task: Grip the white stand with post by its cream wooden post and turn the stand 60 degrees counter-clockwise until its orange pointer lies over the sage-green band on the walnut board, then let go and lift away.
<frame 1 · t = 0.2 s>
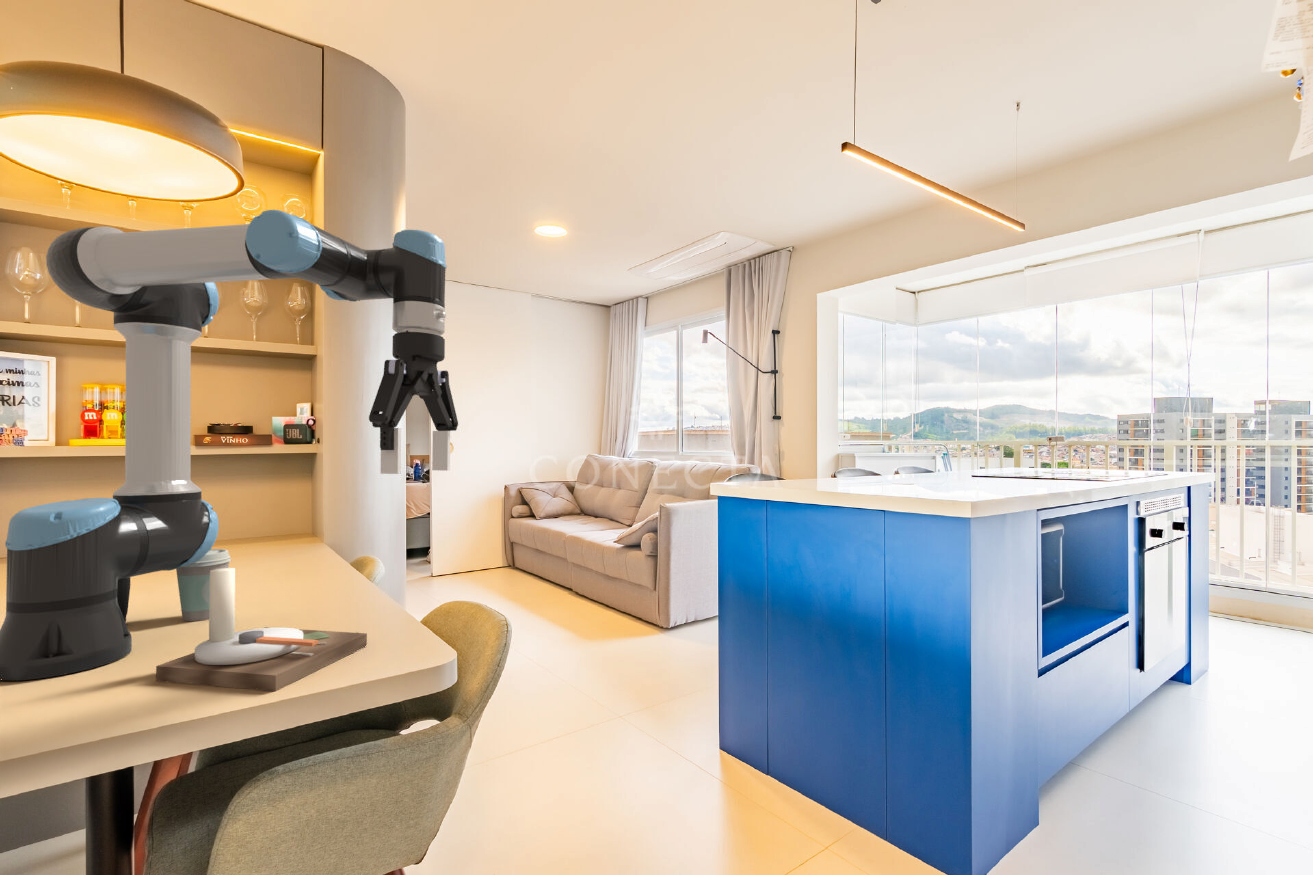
hand: (417, 472, 93), 28 cm above the table, tool pointing down, fingers open, 13 cm apart
coffee cup: (202, 617, 112), on the table
white stand with post: (263, 610, 87), point 8 cm above the table, hinge at 0.0°
portable speaker: (96, 628, 106), on the table
dial board: (250, 664, 87), on the table
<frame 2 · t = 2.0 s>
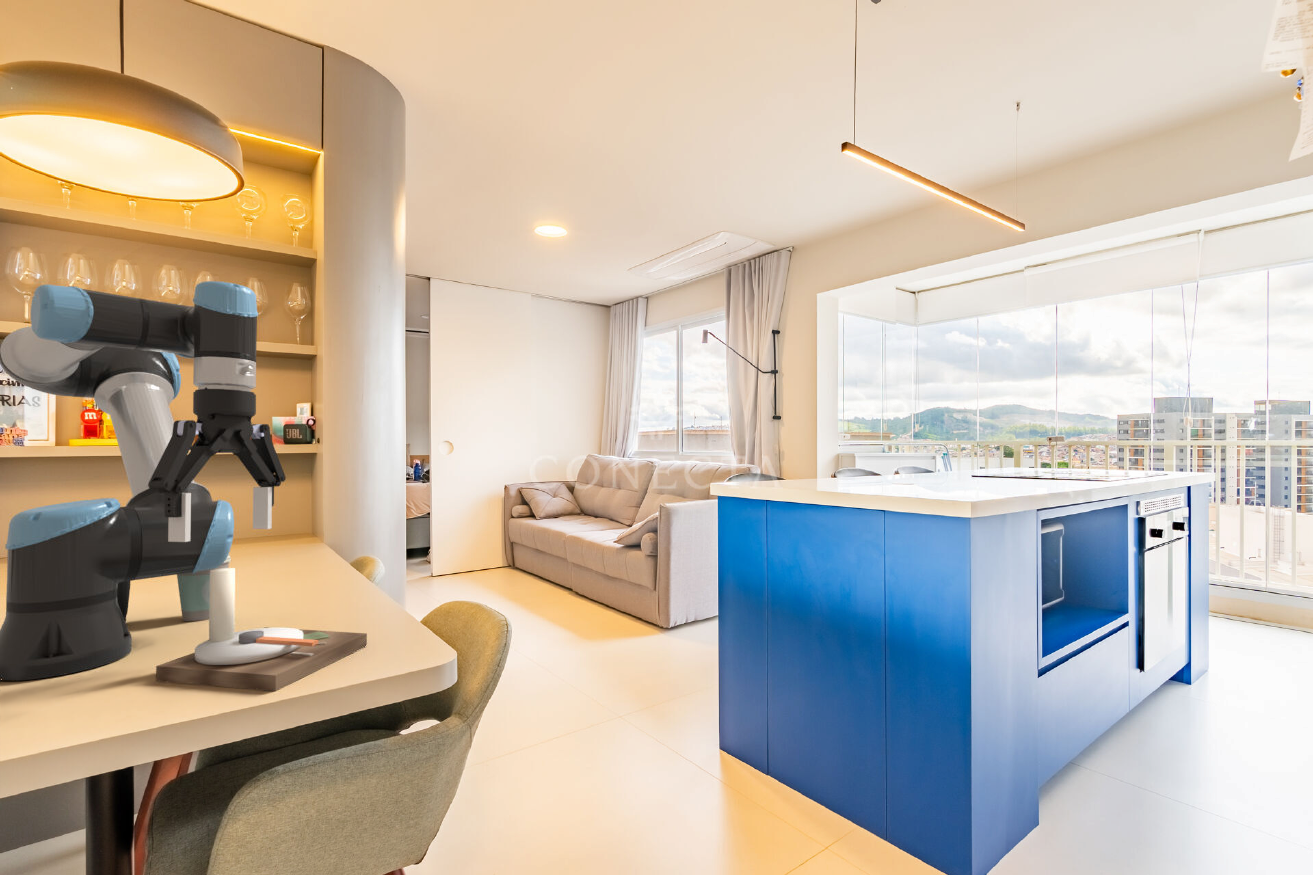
hand: (223, 534, 88), 19 cm above the table, tool pointing down, fingers open, 13 cm apart
nothing on the table moved.
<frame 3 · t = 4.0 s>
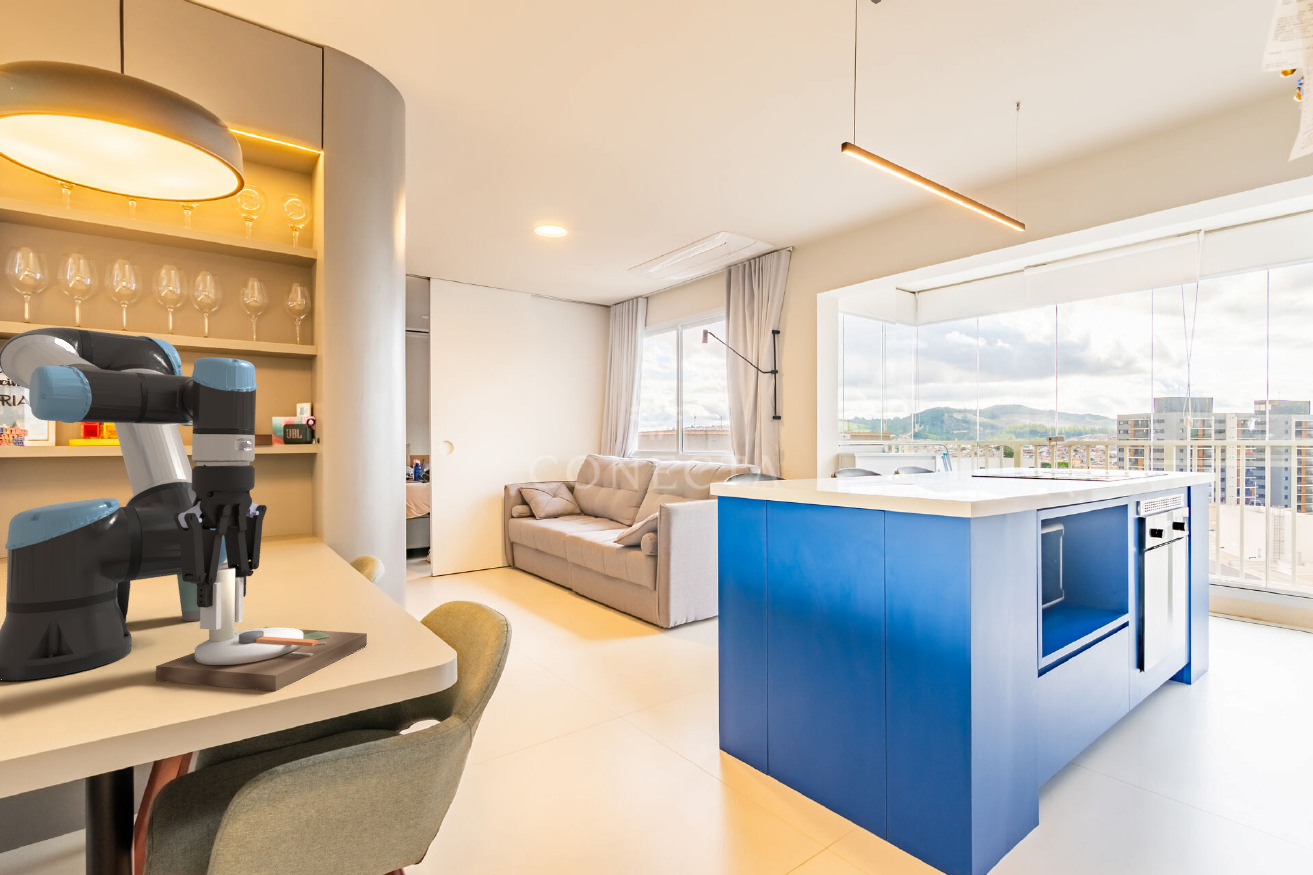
hand: (221, 624, 88), 6 cm above the table, tool pointing down, fingers closed on white stand with post, 3 cm apart
white stand with post: (263, 610, 87), point 8 cm above the table, hinge at 0.0°, touching gripper
everything else where it was.
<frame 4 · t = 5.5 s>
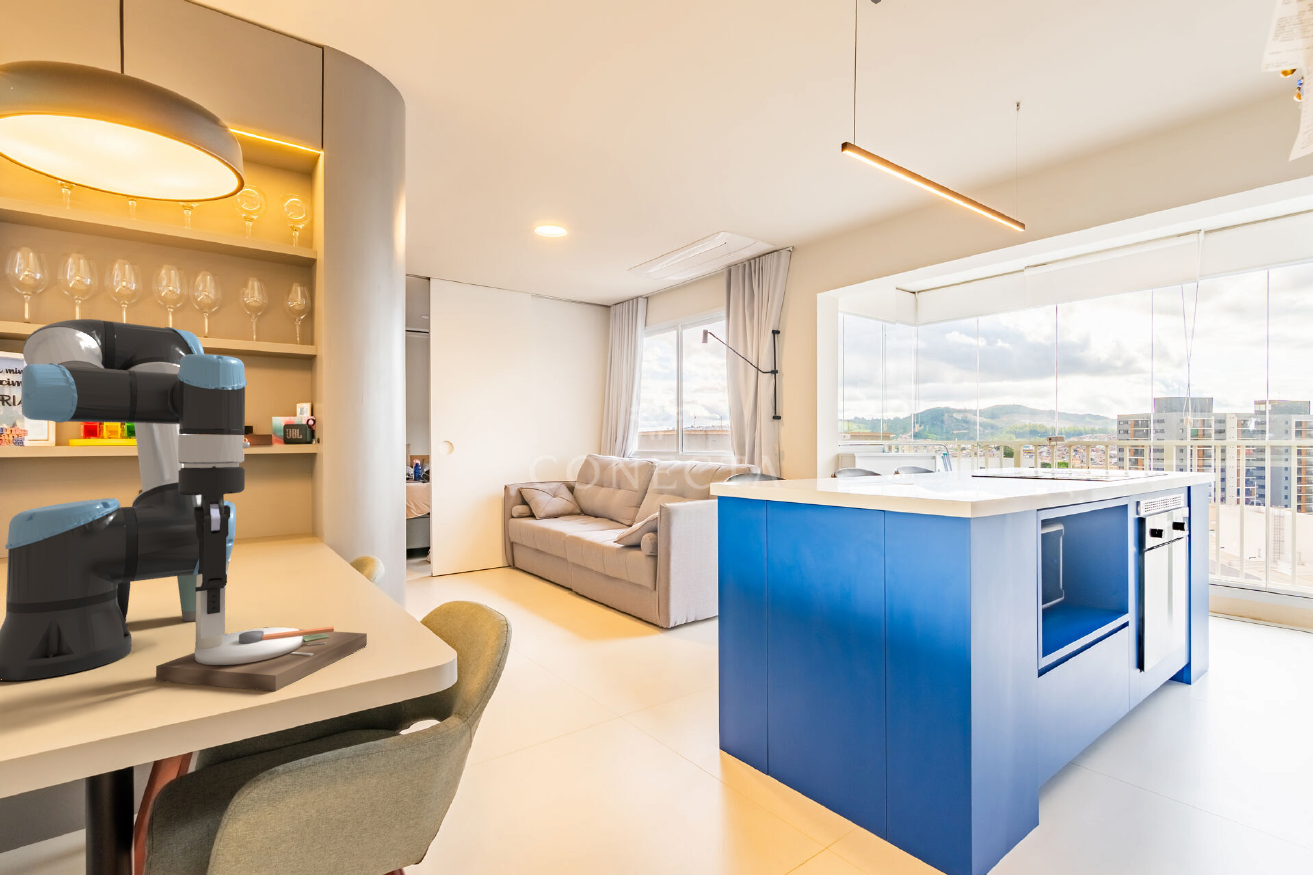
hand: (211, 631, 85), 6 cm above the table, tool pointing down, fingers open, 4 cm apart
white stand with post: (268, 608, 88), point 8 cm above the table, hinge at 37.6°, touching gripper
everything else where it was.
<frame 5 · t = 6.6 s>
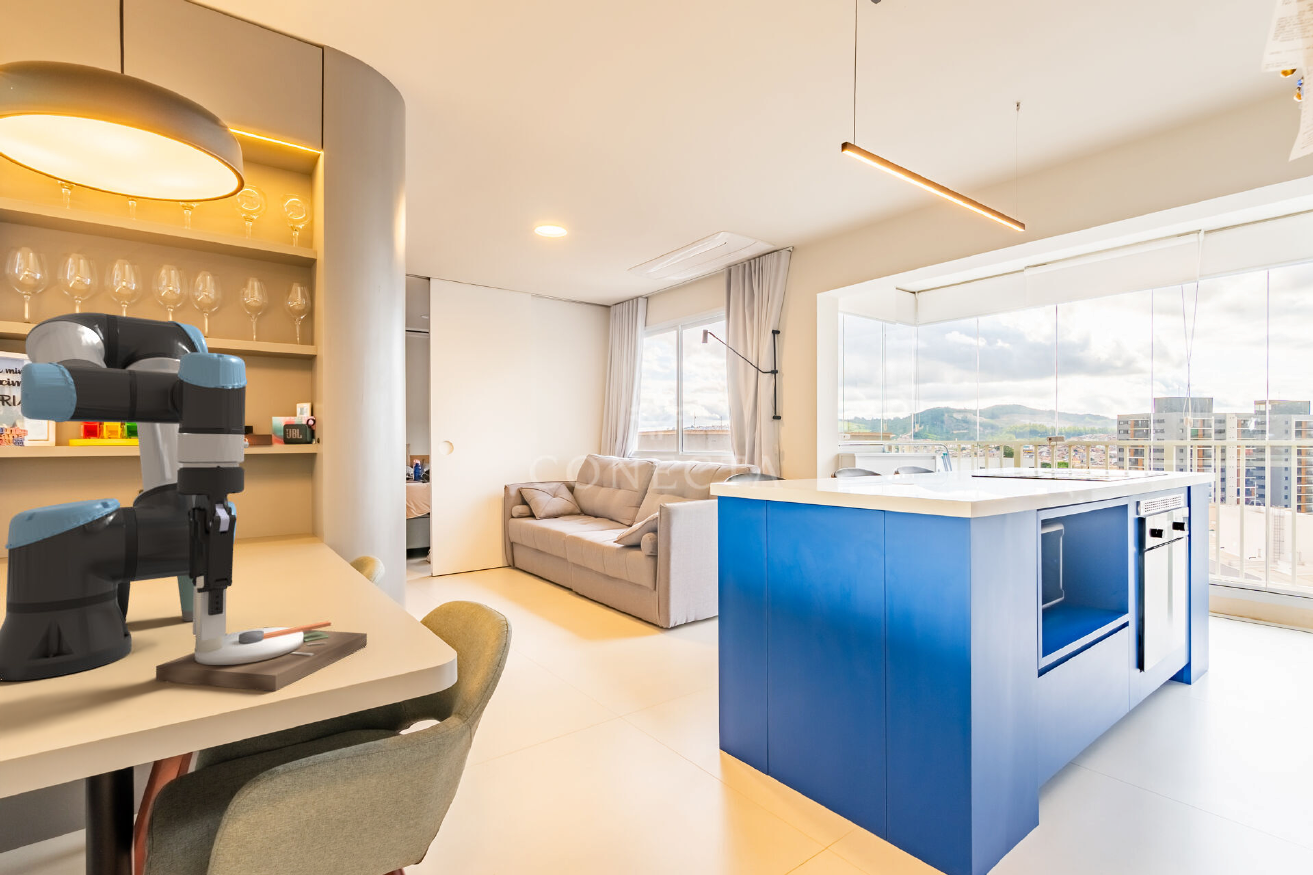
hand: (209, 634, 84), 6 cm above the table, tool pointing down, fingers closed on white stand with post, 3 cm apart
white stand with post: (267, 607, 89), point 8 cm above the table, hinge at 58.0°, touching gripper
everything else where it was.
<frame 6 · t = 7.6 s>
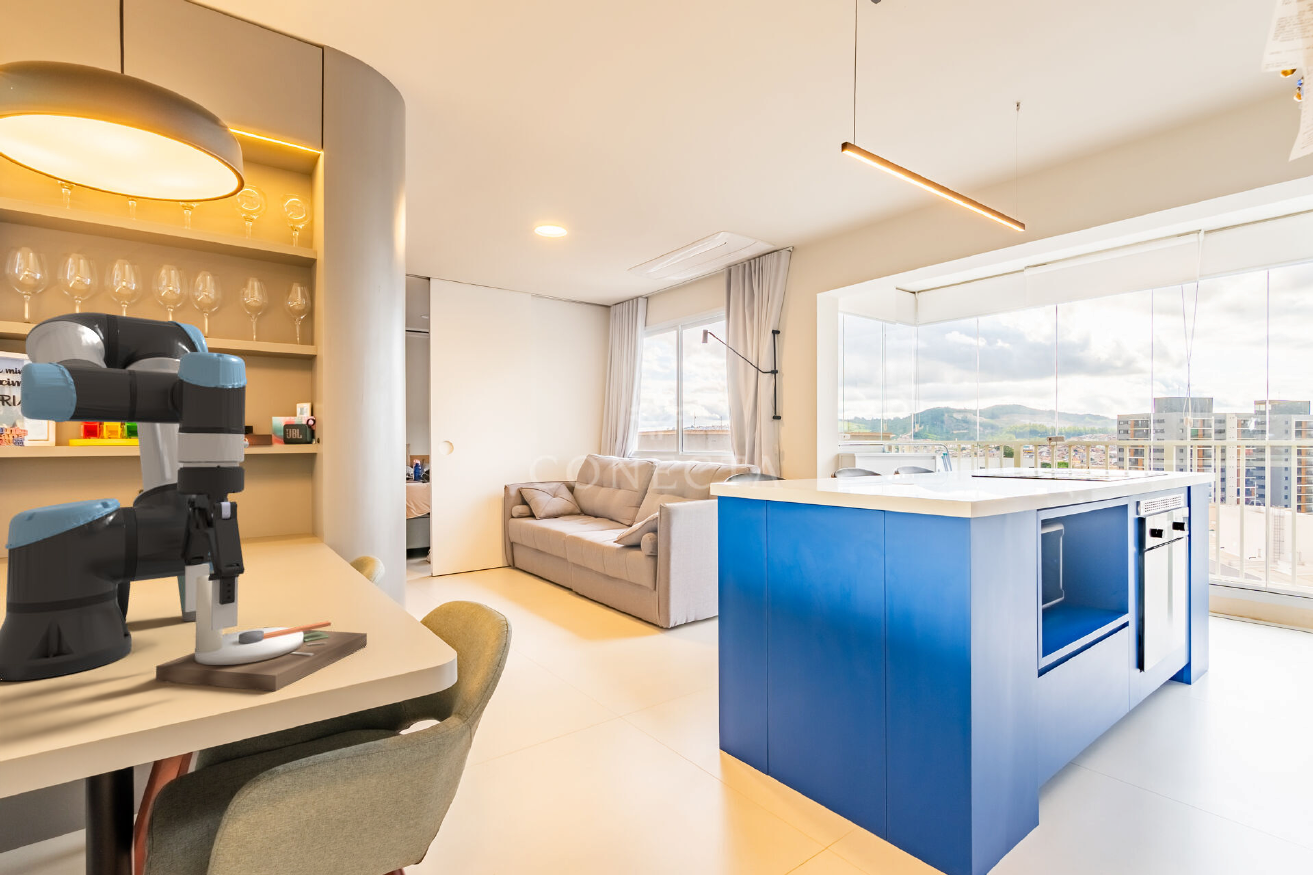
hand: (209, 618, 84), 8 cm above the table, tool pointing down, fingers open, 13 cm apart
white stand with post: (267, 607, 89), point 8 cm above the table, hinge at 58.2°
everything else where it was.
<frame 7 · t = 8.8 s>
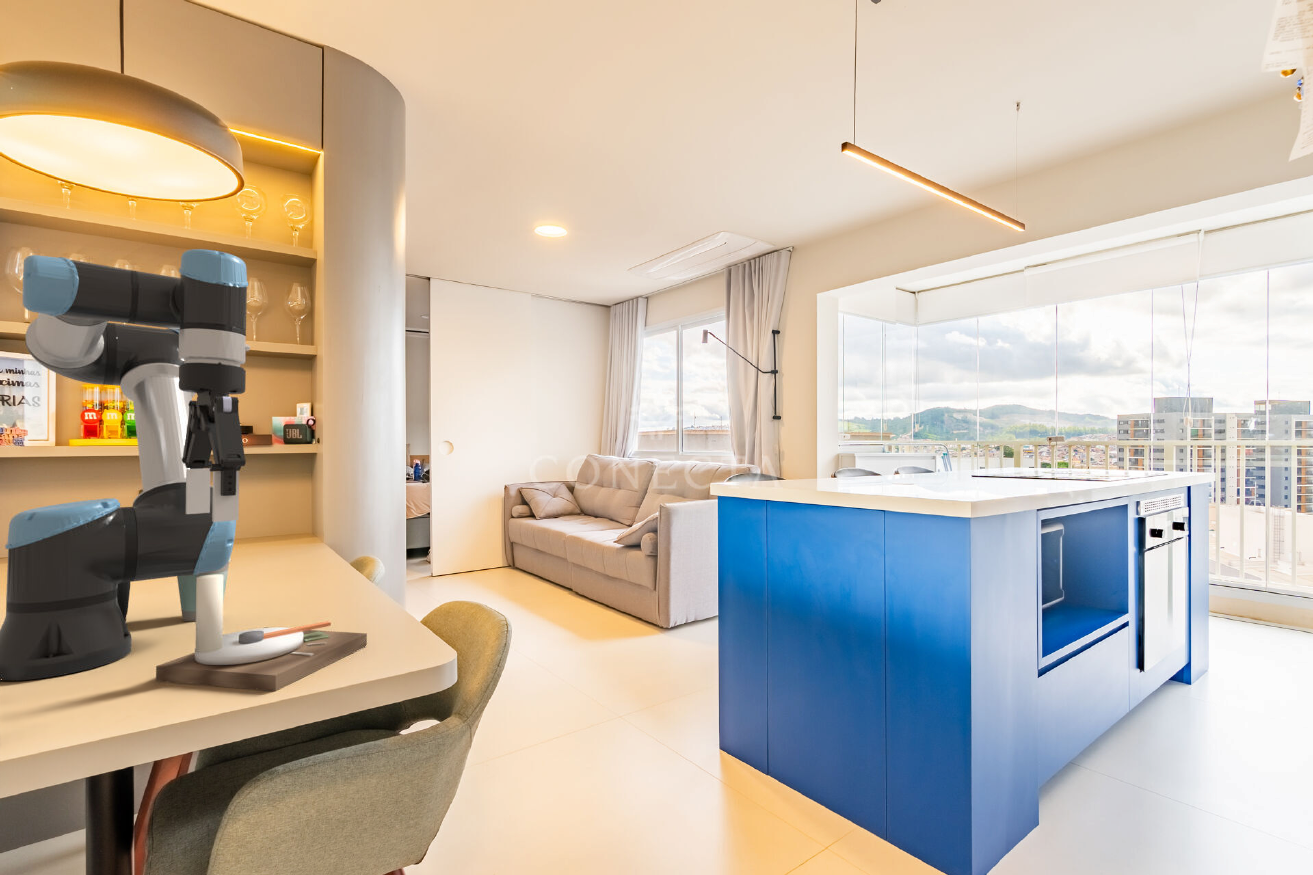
hand: (210, 517, 84), 22 cm above the table, tool pointing down, fingers open, 13 cm apart
nothing on the table moved.
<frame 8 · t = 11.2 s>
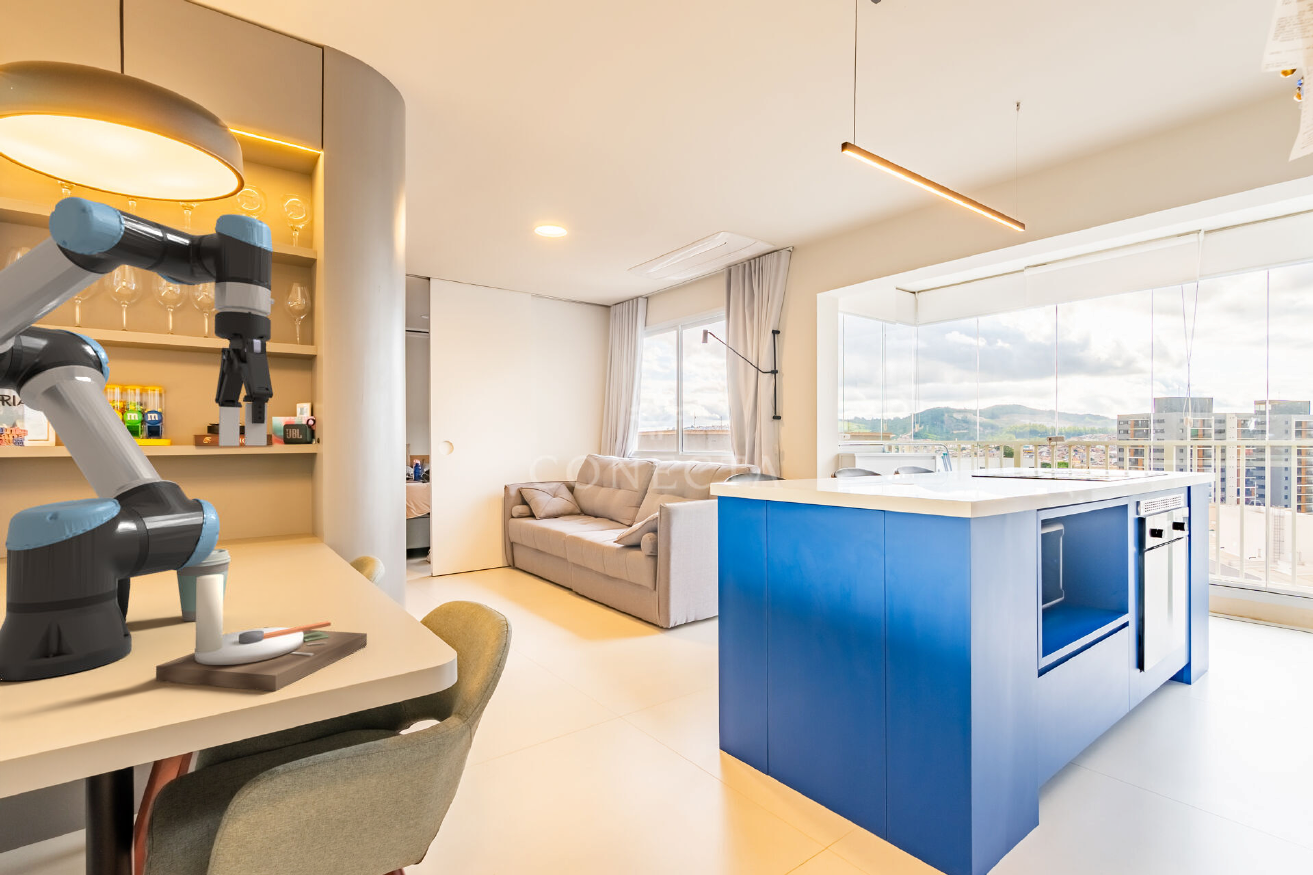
hand: (241, 445, 97), 32 cm above the table, tool pointing down, fingers open, 13 cm apart
nothing on the table moved.
at the end: white stand with post at +58° (first picture: +0°); the gripper is holding nothing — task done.
